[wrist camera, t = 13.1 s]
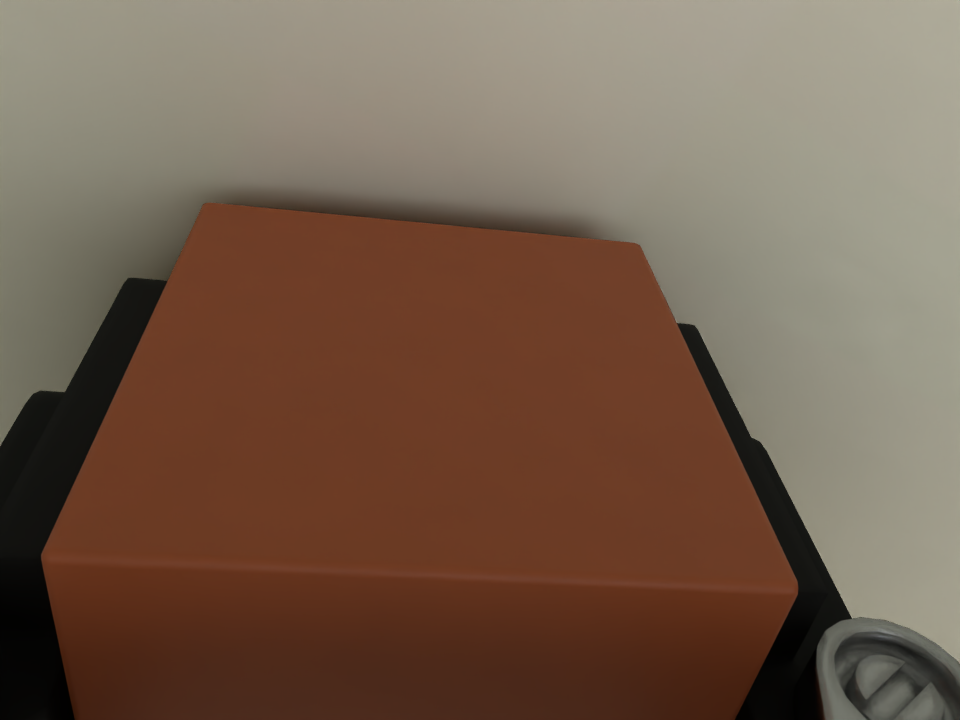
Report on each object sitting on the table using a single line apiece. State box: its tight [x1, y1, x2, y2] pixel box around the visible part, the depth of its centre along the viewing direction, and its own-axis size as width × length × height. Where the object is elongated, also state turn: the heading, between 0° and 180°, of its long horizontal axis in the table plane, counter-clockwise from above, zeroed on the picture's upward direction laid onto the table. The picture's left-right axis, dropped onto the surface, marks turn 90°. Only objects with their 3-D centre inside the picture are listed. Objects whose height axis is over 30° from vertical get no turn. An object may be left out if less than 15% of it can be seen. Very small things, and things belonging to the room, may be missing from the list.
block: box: [41, 203, 798, 720], centre depth 8 cm, size 5×5×5 cm
